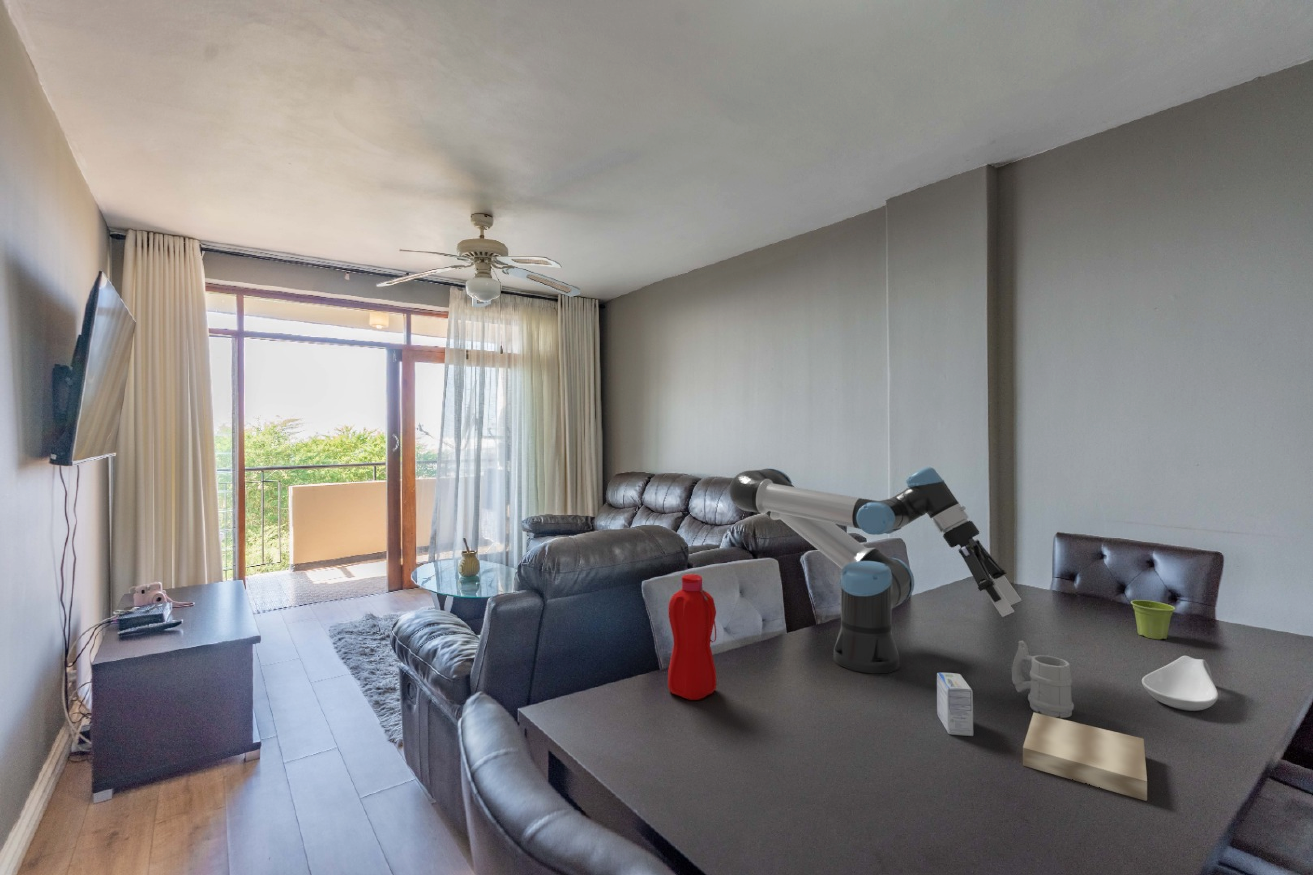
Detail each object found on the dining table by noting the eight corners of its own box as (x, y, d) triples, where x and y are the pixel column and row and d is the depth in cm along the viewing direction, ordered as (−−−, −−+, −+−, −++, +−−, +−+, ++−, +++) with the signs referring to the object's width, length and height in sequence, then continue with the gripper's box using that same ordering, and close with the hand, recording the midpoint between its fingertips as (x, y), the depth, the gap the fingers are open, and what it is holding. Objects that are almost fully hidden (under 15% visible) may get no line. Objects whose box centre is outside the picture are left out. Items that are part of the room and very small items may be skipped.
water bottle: (702, 707, 121) (702, 584, 121) (661, 692, 128) (661, 575, 128) (728, 693, 127) (728, 576, 127) (689, 679, 135) (689, 568, 135)
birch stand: (1022, 765, 100) (1022, 747, 100) (1033, 728, 112) (1033, 712, 112) (1146, 801, 90) (1147, 781, 90) (1143, 756, 102) (1143, 738, 102)
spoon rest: (1211, 724, 114) (1211, 687, 114) (1134, 703, 123) (1134, 668, 123) (1233, 691, 129) (1233, 658, 129) (1163, 674, 138) (1163, 643, 138)
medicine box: (973, 737, 109) (973, 689, 109) (947, 734, 110) (947, 687, 110) (960, 717, 117) (960, 673, 117) (936, 715, 118) (936, 671, 117)
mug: (1058, 722, 115) (1058, 659, 115) (1000, 697, 125) (1000, 640, 125) (1082, 714, 118) (1082, 653, 118) (1023, 691, 129) (1023, 635, 129)
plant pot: (1171, 634, 165) (1171, 603, 165) (1178, 644, 157) (1178, 611, 157) (1128, 628, 170) (1128, 598, 170) (1133, 637, 163) (1133, 606, 162)
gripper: (959, 522, 133) (1021, 611, 125) (979, 515, 153) (1033, 591, 145) (929, 539, 136) (988, 626, 129) (952, 529, 156) (1004, 605, 148)
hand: (1012, 608), depth 137 cm, fingers open, 13 cm apart
